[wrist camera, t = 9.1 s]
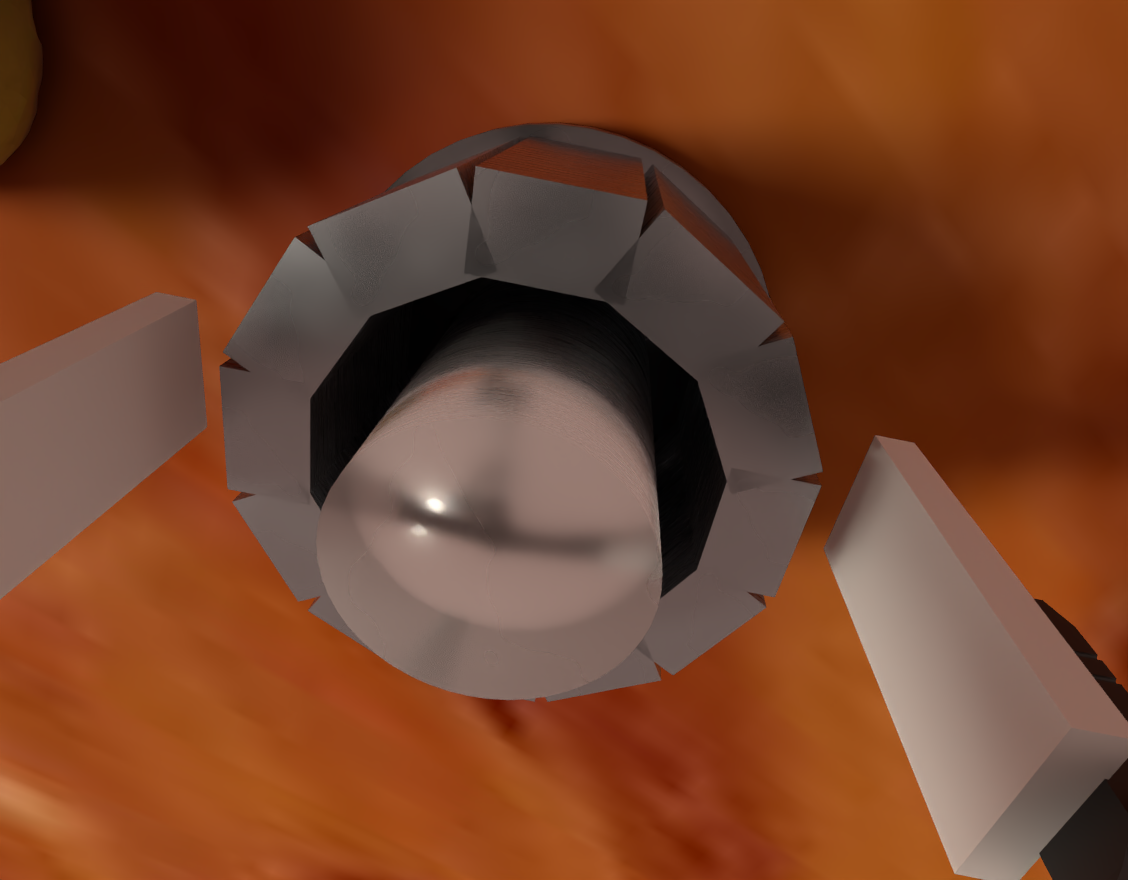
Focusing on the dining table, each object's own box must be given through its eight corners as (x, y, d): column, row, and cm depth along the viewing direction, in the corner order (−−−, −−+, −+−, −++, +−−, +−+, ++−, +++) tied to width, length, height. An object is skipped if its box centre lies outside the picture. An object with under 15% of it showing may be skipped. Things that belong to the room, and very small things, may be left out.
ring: (357, 100, 15) (202, 111, 9) (814, 192, 15) (918, 255, 9) (345, 489, 19) (238, 643, 14) (692, 558, 19) (716, 737, 14)
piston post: (349, 77, 15) (39, 72, 7) (834, 175, 15) (1056, 277, 7) (338, 490, 20) (151, 751, 12) (702, 561, 20) (746, 868, 12)
